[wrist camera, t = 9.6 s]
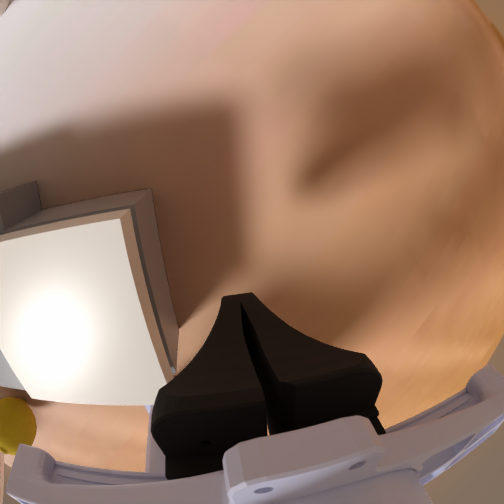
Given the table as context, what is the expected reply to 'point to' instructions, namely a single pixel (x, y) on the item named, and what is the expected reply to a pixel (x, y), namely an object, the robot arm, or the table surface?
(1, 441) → the lemon
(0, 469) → the cup
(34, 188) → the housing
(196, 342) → the table surface
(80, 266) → the cream square tile
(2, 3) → the pipe fitting
